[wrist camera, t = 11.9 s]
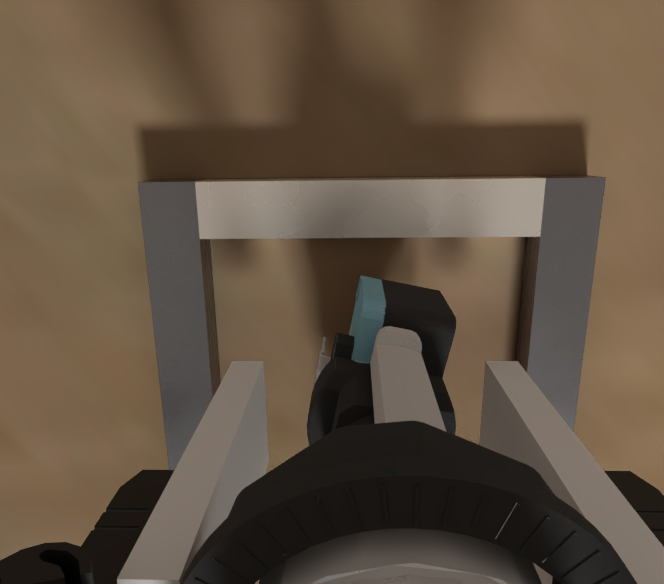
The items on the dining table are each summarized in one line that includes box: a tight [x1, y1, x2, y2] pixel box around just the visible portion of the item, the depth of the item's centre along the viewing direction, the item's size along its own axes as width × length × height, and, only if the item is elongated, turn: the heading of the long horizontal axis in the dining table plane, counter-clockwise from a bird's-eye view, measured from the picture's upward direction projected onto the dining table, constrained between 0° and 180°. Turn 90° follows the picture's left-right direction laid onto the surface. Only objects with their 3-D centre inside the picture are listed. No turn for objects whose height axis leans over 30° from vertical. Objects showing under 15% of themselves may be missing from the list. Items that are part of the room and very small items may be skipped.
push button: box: [181, 276, 637, 584], centre depth 10 cm, size 7×5×10 cm
